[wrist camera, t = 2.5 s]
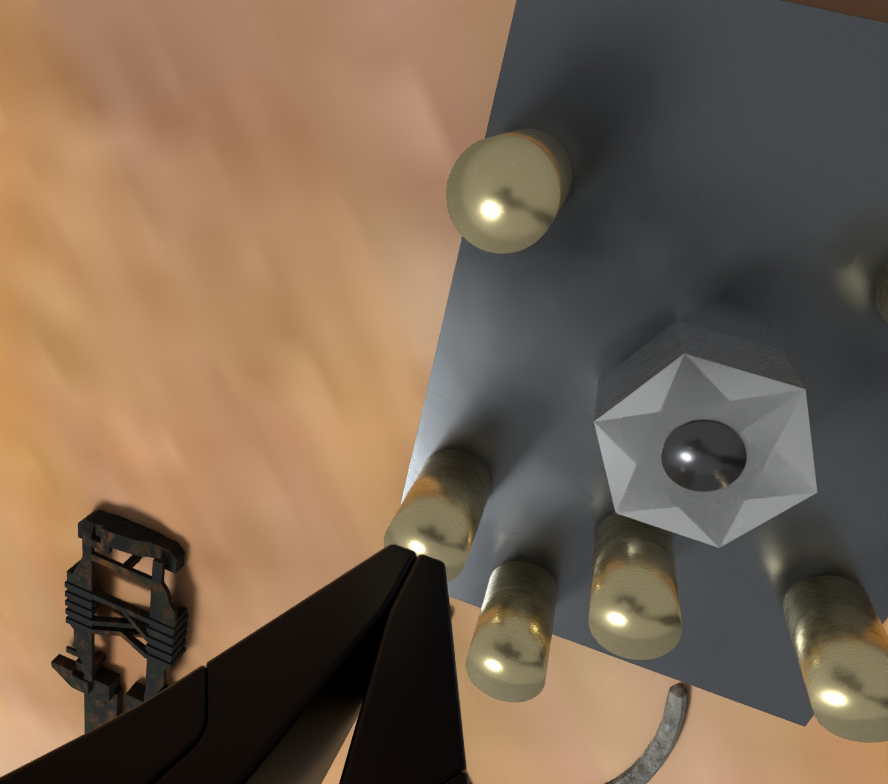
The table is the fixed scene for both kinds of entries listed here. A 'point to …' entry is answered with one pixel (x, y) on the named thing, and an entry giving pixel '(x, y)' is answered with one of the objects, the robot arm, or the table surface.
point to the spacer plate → (641, 319)
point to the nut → (705, 434)
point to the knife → (156, 626)
